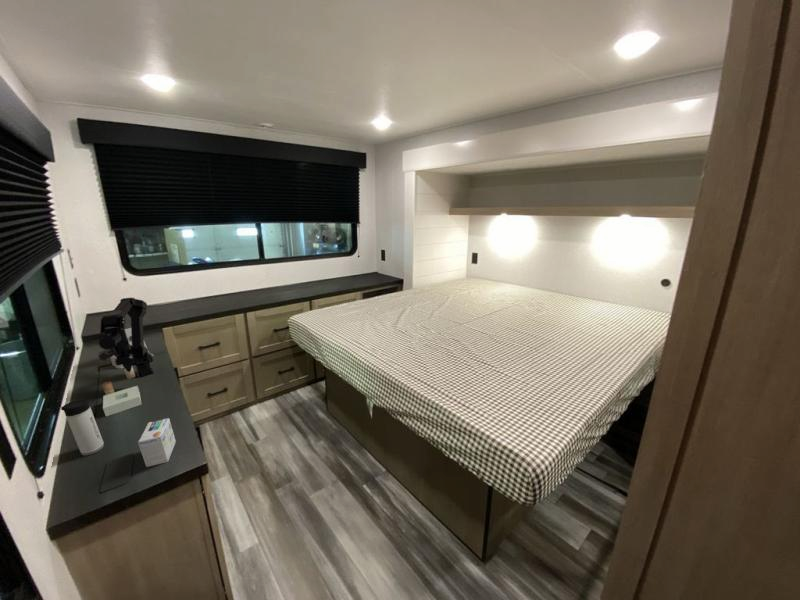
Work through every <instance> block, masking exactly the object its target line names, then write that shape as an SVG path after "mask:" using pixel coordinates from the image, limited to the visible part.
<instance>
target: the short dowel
mask: <svg viewBox="0 0 800 600" xmlns="http://www.w3.org/2000/svg"><path fill="white" fill-rule="evenodd" d="M102 388H103V391H104V393H105V395H108V394H111V393H115V389H114V386H113V383H112V381H105V382H104V383H102Z"/></svg>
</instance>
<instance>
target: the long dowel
mask: <svg viewBox="0 0 800 600" xmlns="http://www.w3.org/2000/svg"><path fill="white" fill-rule="evenodd" d="M122 369H123V370H124V373H125V377H126V379H127V380H129V379H134V378H135V377H136V373H135V371H134V367H133V366H132V368H131V371H130V372H127V370H126V369H125V368H124V366H123V368H122Z"/></svg>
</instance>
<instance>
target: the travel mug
mask: <svg viewBox="0 0 800 600" xmlns="http://www.w3.org/2000/svg"><path fill="white" fill-rule="evenodd" d="M60 410H61V411H63V412H64V415H65V417H66V420H67V423H68V425H69V427H70V429H71V432H72V434H73V437H74V439H75V443H76V444H77V448H78V449H79V452H80V454H81V455H82V456H91V455H94V454H95V453H98V452H99V451H100V450H102V449H103V448H104V446H105V443H104V440H103V437H102V434H101V432H100V430H99V427H98V424H97V422H96V418H95V416H94V413H93V410H92V408H91V406H90V404H89V401H88V400H85V399H78V400H73V401H70V402H67V403H66V404H64V405H63V406H61V407H60Z"/></svg>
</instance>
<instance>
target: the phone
mask: <svg viewBox="0 0 800 600" xmlns="http://www.w3.org/2000/svg"><path fill="white" fill-rule="evenodd" d="M134 459H135V454H134V453H132V452H131V453H128V454H125V455H122V456H120V457H117V458H114V459H112V460H110V461H108V462H107V463H106V466H105V470H104V474H103V476H102V481H101V485H100V490H99V492H100V494H103V493H107V492H109V491H111V490H114V489H117V488H119V487H122V486H125V485H127V484H128V483H129V482H130V481H131V476H132V471H133V465H134Z"/></svg>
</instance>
